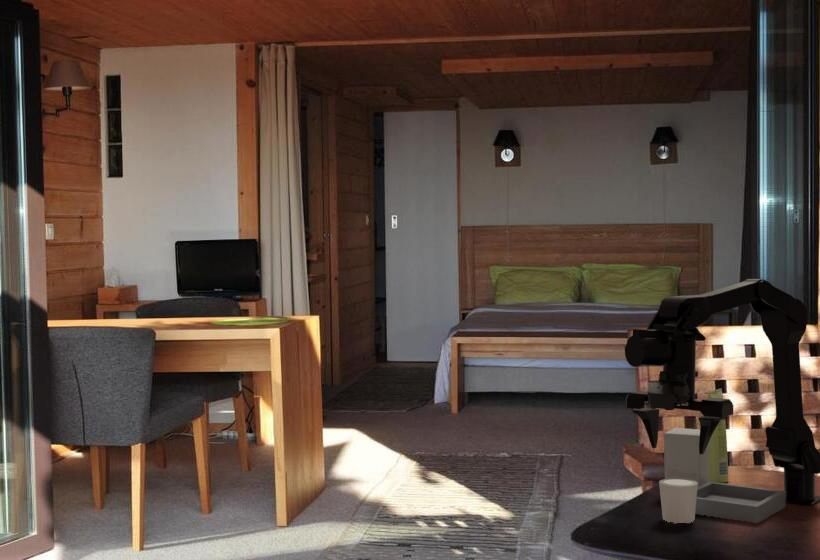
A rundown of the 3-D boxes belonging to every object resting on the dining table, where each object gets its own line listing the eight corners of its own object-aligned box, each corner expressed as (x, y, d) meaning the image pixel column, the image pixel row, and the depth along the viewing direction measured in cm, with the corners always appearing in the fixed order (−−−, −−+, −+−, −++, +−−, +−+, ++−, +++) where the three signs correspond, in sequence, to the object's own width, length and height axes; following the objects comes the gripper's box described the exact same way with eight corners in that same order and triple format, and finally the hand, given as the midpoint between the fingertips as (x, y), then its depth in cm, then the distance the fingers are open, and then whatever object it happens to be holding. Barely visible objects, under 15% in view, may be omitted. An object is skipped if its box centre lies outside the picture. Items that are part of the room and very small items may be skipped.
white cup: (699, 525, 189) (699, 486, 189) (659, 523, 191) (659, 485, 190) (696, 515, 196) (696, 478, 196) (658, 514, 197) (658, 477, 197)
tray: (709, 496, 211) (709, 481, 211) (785, 506, 202) (785, 491, 202) (678, 511, 199) (678, 495, 199) (757, 523, 190) (757, 506, 190)
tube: (699, 478, 228) (698, 388, 227) (722, 477, 228) (721, 387, 228) (709, 484, 222) (708, 391, 222) (732, 483, 223) (732, 390, 222)
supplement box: (710, 491, 216) (710, 429, 215) (699, 498, 210) (699, 435, 209) (675, 487, 220) (674, 426, 219) (663, 494, 213) (662, 432, 213)
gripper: (612, 364, 192) (610, 450, 193) (710, 372, 181) (708, 463, 181) (640, 361, 201) (638, 443, 201) (735, 368, 189) (733, 455, 190)
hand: (677, 451), depth 193 cm, fingers open, 9 cm apart
